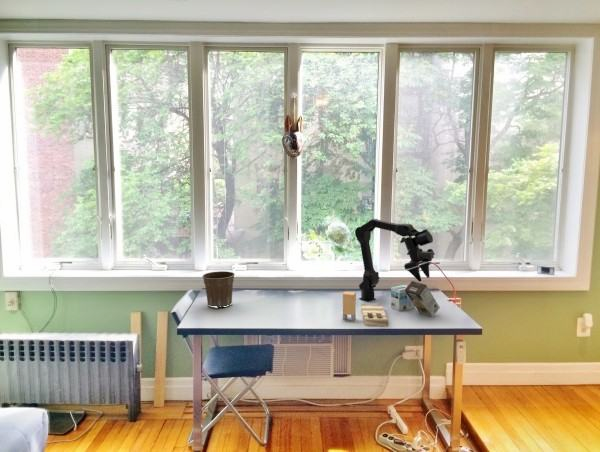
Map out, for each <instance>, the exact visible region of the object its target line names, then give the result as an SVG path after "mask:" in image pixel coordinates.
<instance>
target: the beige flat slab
mask: <svg viewBox="0 0 600 452" xmlns="http://www.w3.org/2000/svg"><path fill="white" fill-rule="evenodd" d="M360 312H361V315H362V316H361V317H362V320H363V322H364V326H367V327H369V326H371V327H372V326H374V327H375V326H378V327H380V326H381V327H388V326H389V320H388V317H387V315H386V312H385V310H384V308H383V306H382V304H361V305H360Z"/></svg>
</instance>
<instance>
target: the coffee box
mask: <svg viewBox="0 0 600 452" xmlns="http://www.w3.org/2000/svg"><path fill="white" fill-rule="evenodd" d="M407 285H408V286H407V288H406V289H405V292H406V293H407V295H408V296H409V298H410V299H411V301H412V302H413V304H414V305H415V309H416V310H417V311H418V312H419V313H421V314H423V315H426V316H429V317H433V318H434V316H435V315H436V313H438V312H439V310H440V308H441V307H440V305H439V303H438V302H437V299H436V298H435V297H434V295H433V294H432V292H431V290H430V289H429V287H428V285H427V284H425V283H421V282H417V281H413V280H412V281H410V283H409V284H407Z"/></svg>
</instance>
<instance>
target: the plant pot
mask: <svg viewBox="0 0 600 452" xmlns="http://www.w3.org/2000/svg"><path fill="white" fill-rule="evenodd" d="M235 275H236V274H235V272H233V271H225V270H223V271H211V272H207V273H204V274H202V278H203V283H204V286H205V293H206V294H205V295H206V299H207V300H206V301H207V306H208V305H210V306H217V307H220V306H227V305H230V304H231V303H232V304H233V287H234V279H235ZM230 306H231V305H230ZM220 308H221V307H220Z"/></svg>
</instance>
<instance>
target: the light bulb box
mask: <svg viewBox="0 0 600 452" xmlns="http://www.w3.org/2000/svg"><path fill="white" fill-rule="evenodd" d="M408 285H409V284H404V285H403V284H402V285H397V286H391V287H390V288H391V290H390V308H391V309H393V310H395V311H398V312H401V311H408V310H411V309H416V307H415V305H414V304H413V302H412V301H411V299H410V298H409V296H408V295H407V293H406V292H405V289H406V288H407V286H408ZM407 309H408V310H407Z"/></svg>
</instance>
